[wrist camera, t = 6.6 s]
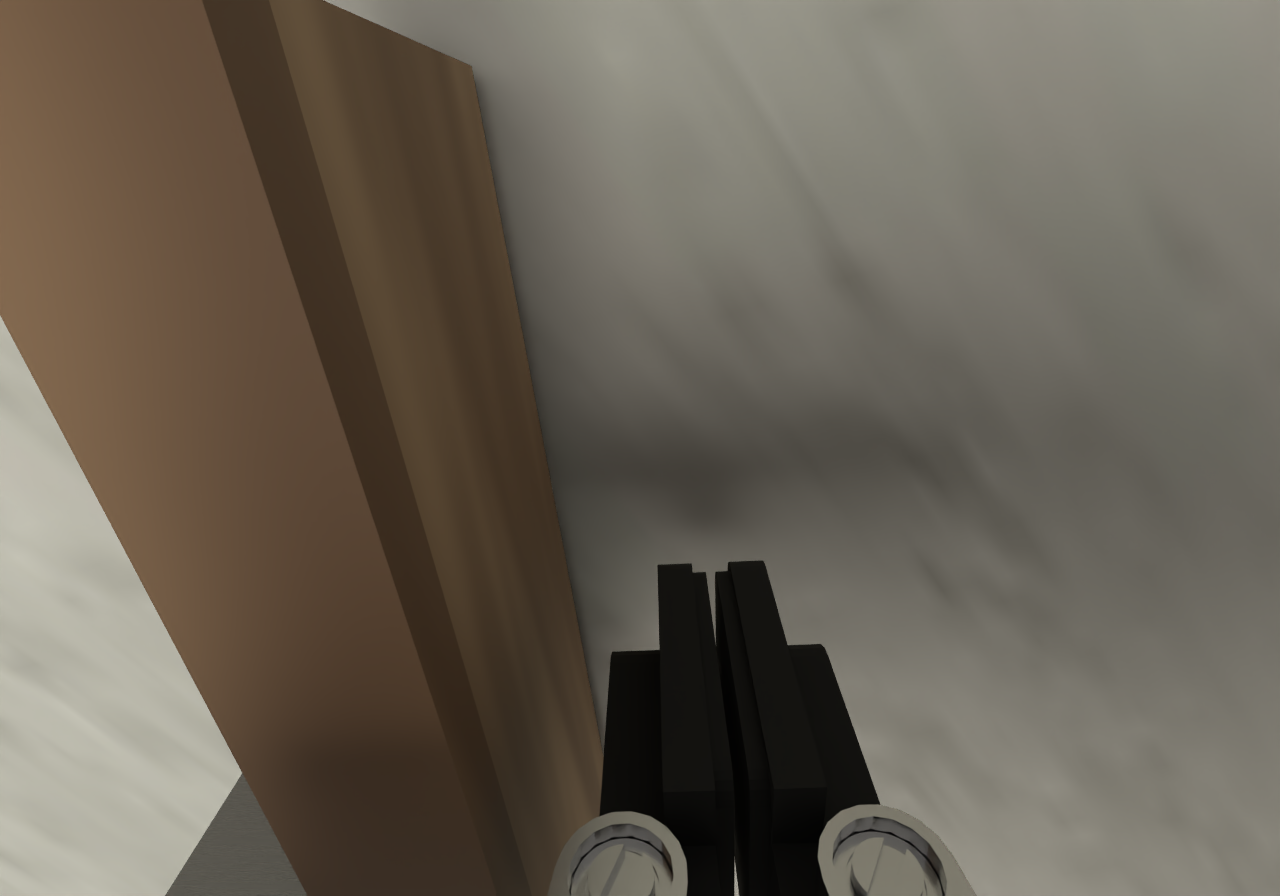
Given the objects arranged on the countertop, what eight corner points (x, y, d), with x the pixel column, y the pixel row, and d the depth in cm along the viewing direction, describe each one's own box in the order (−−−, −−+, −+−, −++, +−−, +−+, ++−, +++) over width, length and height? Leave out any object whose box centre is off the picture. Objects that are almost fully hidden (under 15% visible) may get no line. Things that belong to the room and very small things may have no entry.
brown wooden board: (477, 65, 10) (175, -76, 3) (614, 793, 17) (598, 1199, 10) (347, 82, 10) (-181, -24, 4) (536, 799, 17) (470, 1204, 10)
